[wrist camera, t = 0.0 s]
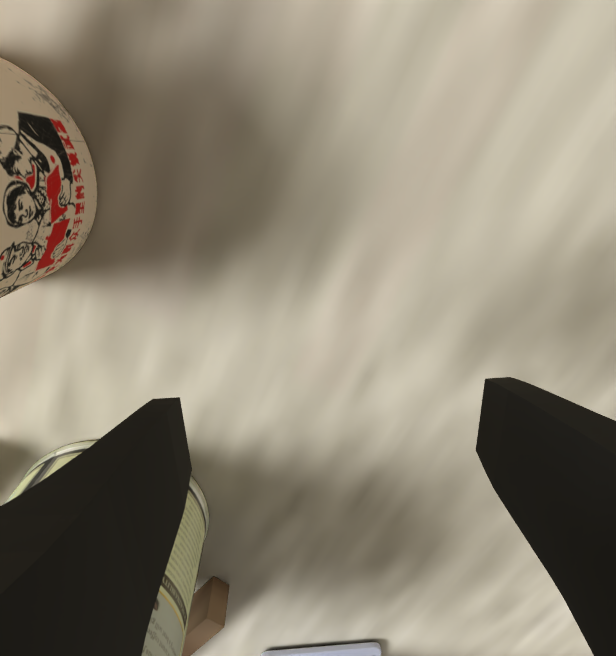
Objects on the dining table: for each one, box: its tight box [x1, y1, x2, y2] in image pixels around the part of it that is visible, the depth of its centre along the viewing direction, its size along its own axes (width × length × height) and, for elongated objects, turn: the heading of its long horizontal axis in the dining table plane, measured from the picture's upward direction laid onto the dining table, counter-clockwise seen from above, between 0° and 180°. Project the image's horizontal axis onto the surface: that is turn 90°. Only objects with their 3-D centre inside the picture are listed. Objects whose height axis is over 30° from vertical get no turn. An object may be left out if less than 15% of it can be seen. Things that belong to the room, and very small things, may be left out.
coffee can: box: [3, 440, 209, 656], centre depth 17 cm, size 10×10×14 cm
